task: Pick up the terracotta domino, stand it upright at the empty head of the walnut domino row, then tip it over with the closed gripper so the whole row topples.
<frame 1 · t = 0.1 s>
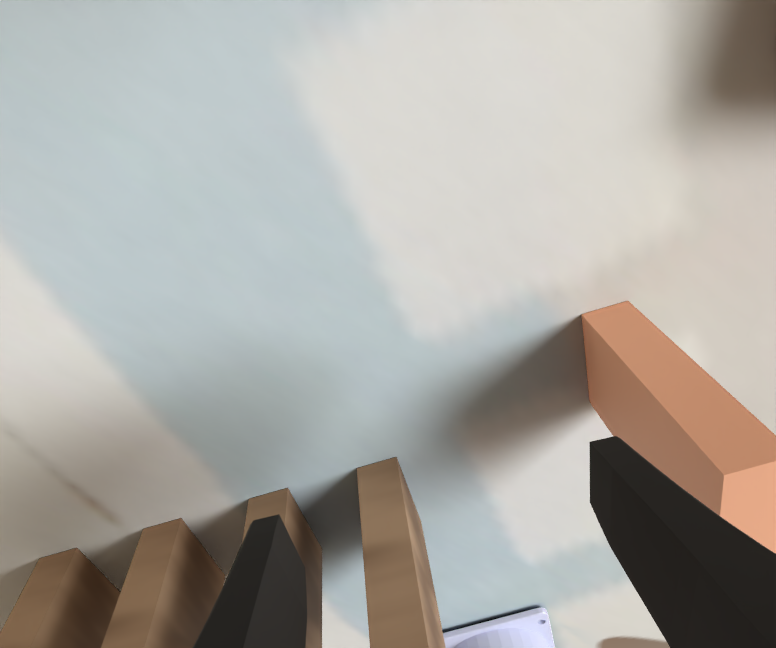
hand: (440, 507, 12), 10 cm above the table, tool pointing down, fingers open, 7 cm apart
terracotta domino: (607, 354, 23), on the table
walnut domino 3: (186, 553, 27), on the table
walnut domino 4: (86, 581, 27), on the table
walnut domino 2: (287, 525, 26), on the table
walnut domino 1: (390, 496, 26), on the table
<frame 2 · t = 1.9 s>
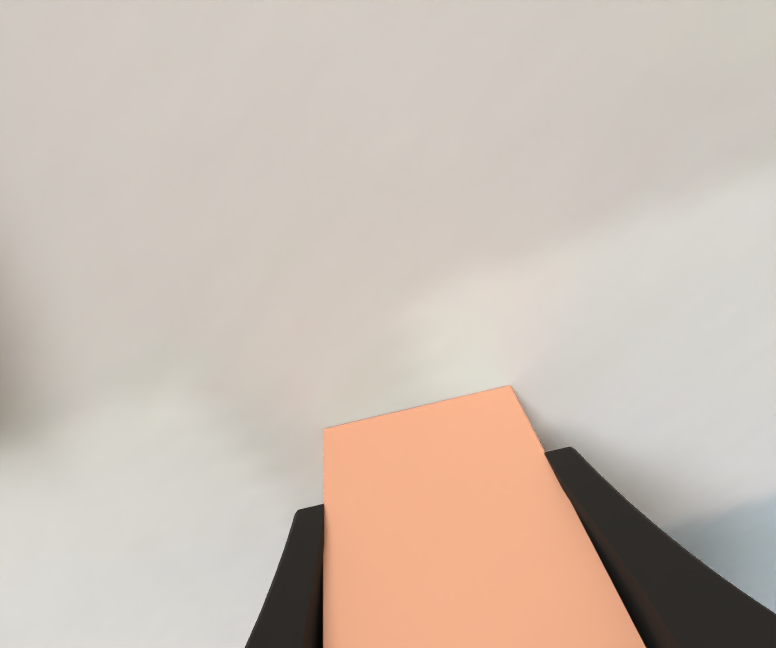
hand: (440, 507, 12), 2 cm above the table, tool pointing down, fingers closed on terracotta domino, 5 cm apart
terracotta domino: (423, 435, 14), on the table, touching gripper
when the fingers open (3 cm above the table, at t = 5.7 s): terracotta domino stays where it is, on the table.
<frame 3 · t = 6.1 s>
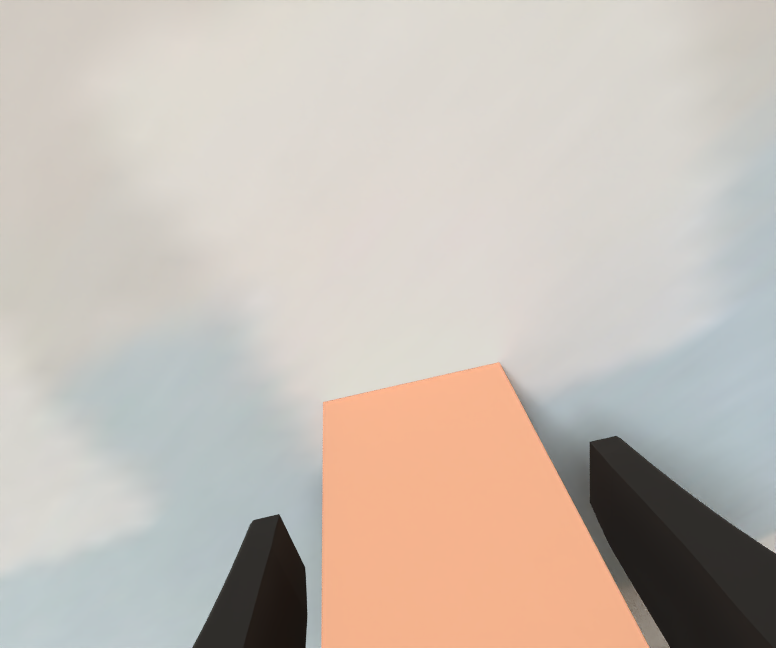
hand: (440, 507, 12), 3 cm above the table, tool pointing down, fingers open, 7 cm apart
terracotta domino: (417, 409, 15), on the table
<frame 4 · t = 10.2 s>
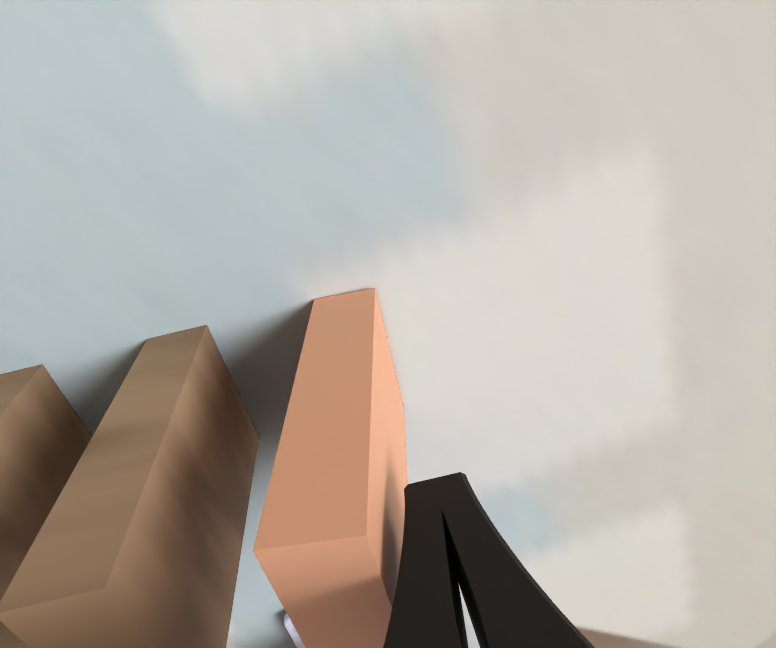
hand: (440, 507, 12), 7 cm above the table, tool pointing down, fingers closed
terracotta domino: (362, 356, 18), on the table, tilted 6°
walnut domino 2: (54, 427, 18), on the table
walnut domino 1: (206, 391, 18), on the table
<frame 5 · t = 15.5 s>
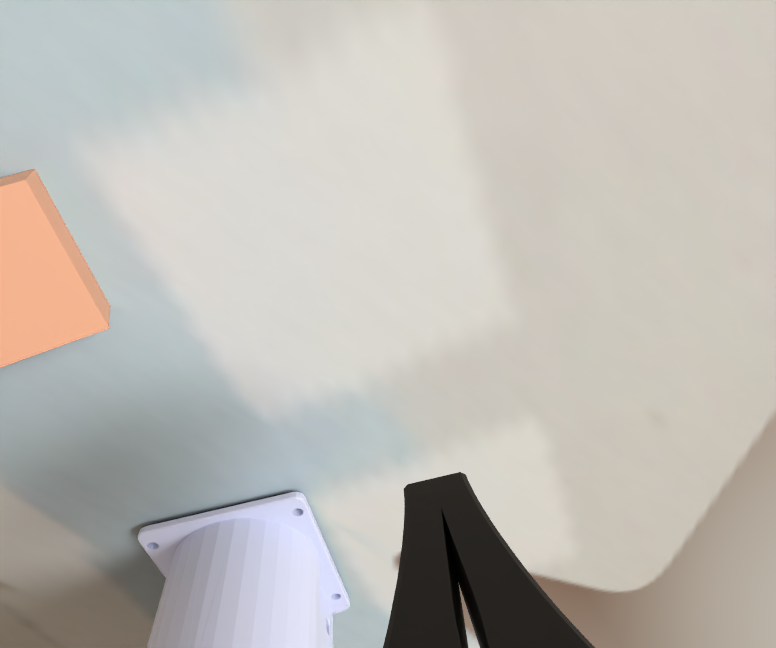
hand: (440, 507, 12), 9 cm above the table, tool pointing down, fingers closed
terracotta domino: (73, 250, 17), point 1 cm above the table, tilted 71°, touching walnut domino 1
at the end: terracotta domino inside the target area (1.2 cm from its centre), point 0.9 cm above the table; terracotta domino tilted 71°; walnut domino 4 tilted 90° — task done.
